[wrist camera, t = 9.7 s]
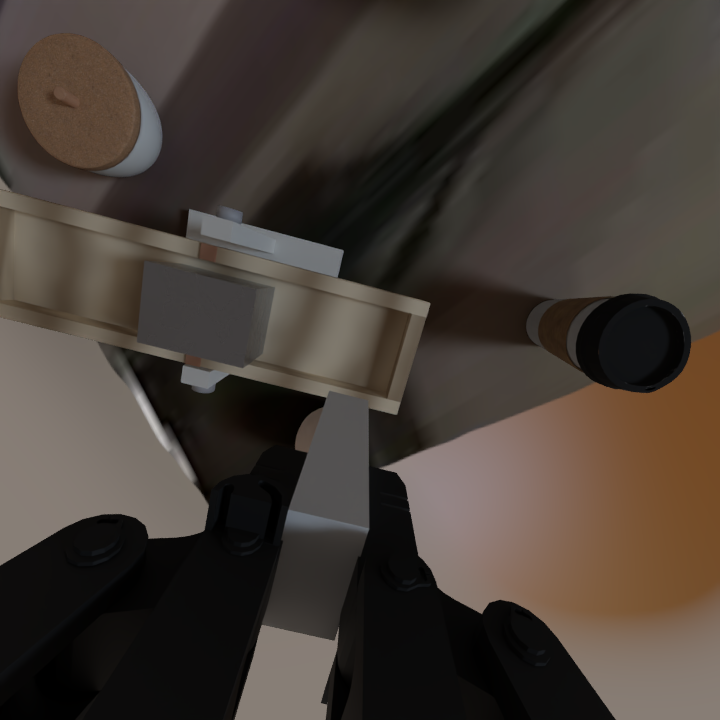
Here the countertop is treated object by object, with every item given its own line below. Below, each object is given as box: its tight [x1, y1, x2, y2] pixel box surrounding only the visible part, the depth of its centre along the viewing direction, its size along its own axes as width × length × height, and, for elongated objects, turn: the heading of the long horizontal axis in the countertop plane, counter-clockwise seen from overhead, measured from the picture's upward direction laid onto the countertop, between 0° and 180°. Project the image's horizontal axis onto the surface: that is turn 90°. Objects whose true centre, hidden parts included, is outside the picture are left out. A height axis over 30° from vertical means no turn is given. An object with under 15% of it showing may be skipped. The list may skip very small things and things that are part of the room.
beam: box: [0, 189, 431, 415], centre depth 29 cm, size 36×10×4 cm, turn 76°
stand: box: [181, 205, 344, 393], centre depth 35 cm, size 18×16×14 cm
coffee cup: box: [526, 294, 691, 393], centre depth 34 cm, size 8×8×15 cm
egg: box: [295, 408, 323, 453], centre depth 40 cm, size 8×8×11 cm
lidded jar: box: [18, 33, 162, 177], centre depth 33 cm, size 11×11×9 cm
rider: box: [137, 261, 275, 368], centre depth 27 cm, size 8×6×5 cm
